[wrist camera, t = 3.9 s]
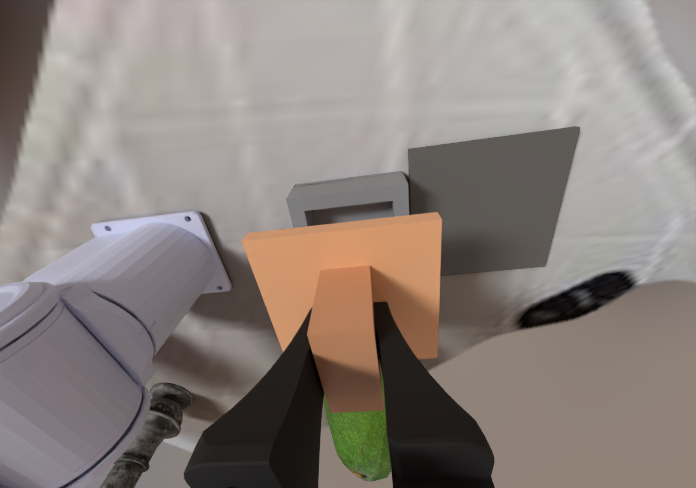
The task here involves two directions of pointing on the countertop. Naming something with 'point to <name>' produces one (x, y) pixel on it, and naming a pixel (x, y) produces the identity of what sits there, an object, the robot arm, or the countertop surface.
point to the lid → (352, 295)
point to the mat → (493, 197)
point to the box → (349, 199)
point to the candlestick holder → (150, 434)
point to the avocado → (361, 441)
